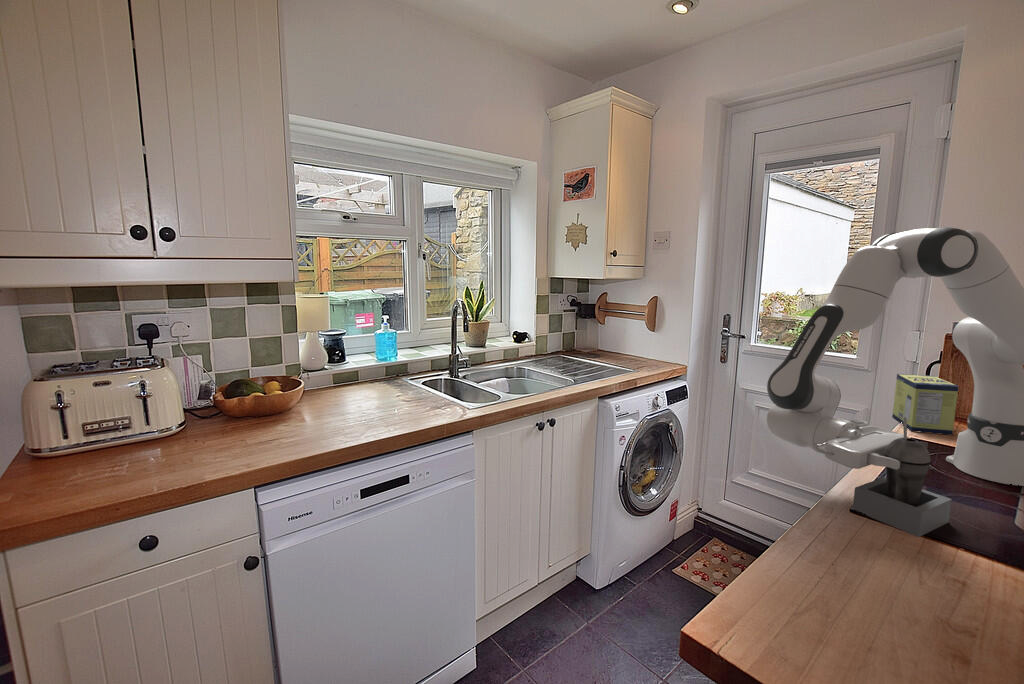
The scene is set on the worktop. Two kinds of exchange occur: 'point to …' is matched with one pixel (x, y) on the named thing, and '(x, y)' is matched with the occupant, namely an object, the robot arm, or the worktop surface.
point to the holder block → (902, 508)
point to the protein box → (925, 403)
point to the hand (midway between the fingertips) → (912, 461)
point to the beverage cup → (907, 469)
